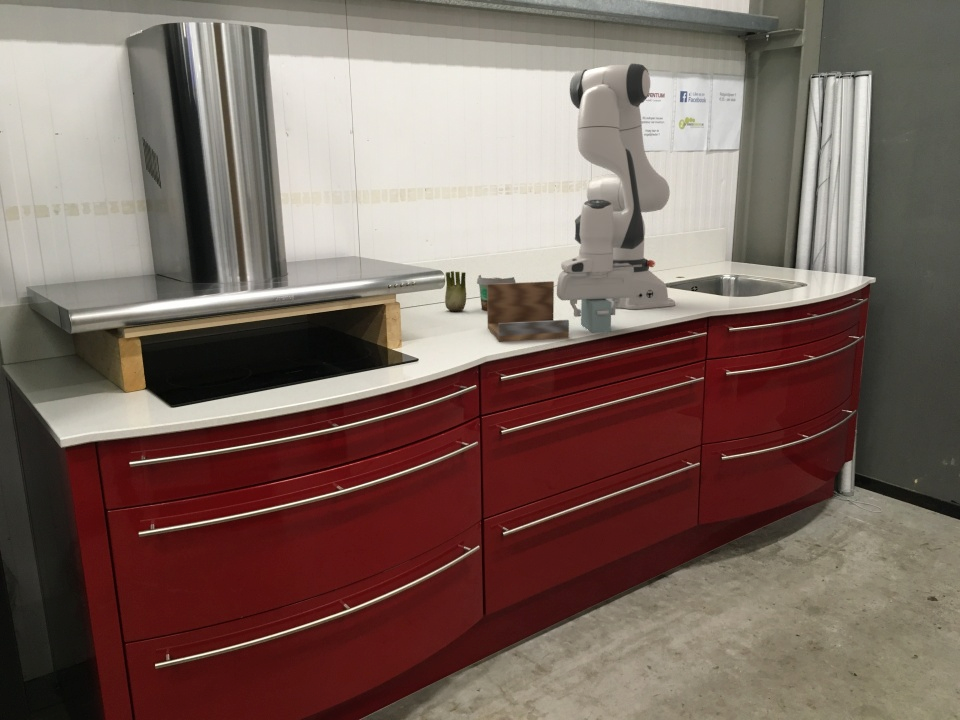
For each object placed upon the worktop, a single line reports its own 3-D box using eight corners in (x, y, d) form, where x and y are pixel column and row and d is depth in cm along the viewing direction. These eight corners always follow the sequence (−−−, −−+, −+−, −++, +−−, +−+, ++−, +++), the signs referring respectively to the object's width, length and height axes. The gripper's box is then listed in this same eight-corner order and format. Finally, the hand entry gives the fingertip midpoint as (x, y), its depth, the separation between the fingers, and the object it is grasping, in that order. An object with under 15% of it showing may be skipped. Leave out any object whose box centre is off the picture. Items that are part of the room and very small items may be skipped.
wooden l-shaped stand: (552, 324, 216) (552, 281, 213) (568, 337, 201) (569, 291, 198) (487, 328, 213) (487, 284, 210) (499, 341, 198) (498, 294, 195)
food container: (469, 310, 237) (469, 277, 235) (479, 307, 243) (479, 274, 240) (506, 314, 232) (506, 280, 229) (515, 310, 237) (515, 277, 235)
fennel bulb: (468, 310, 238) (467, 270, 235) (459, 313, 234) (458, 272, 231) (451, 308, 241) (450, 269, 238) (442, 311, 237) (441, 271, 234)
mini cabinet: (598, 324, 216) (599, 295, 214) (612, 333, 206) (612, 303, 204) (581, 325, 216) (581, 296, 214) (593, 334, 205) (594, 303, 203)
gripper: (629, 260, 211) (627, 311, 215) (555, 263, 208) (554, 314, 212) (638, 263, 205) (636, 316, 209) (561, 266, 202) (560, 319, 206)
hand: (594, 315), depth 210 cm, fingers open, 8 cm apart
